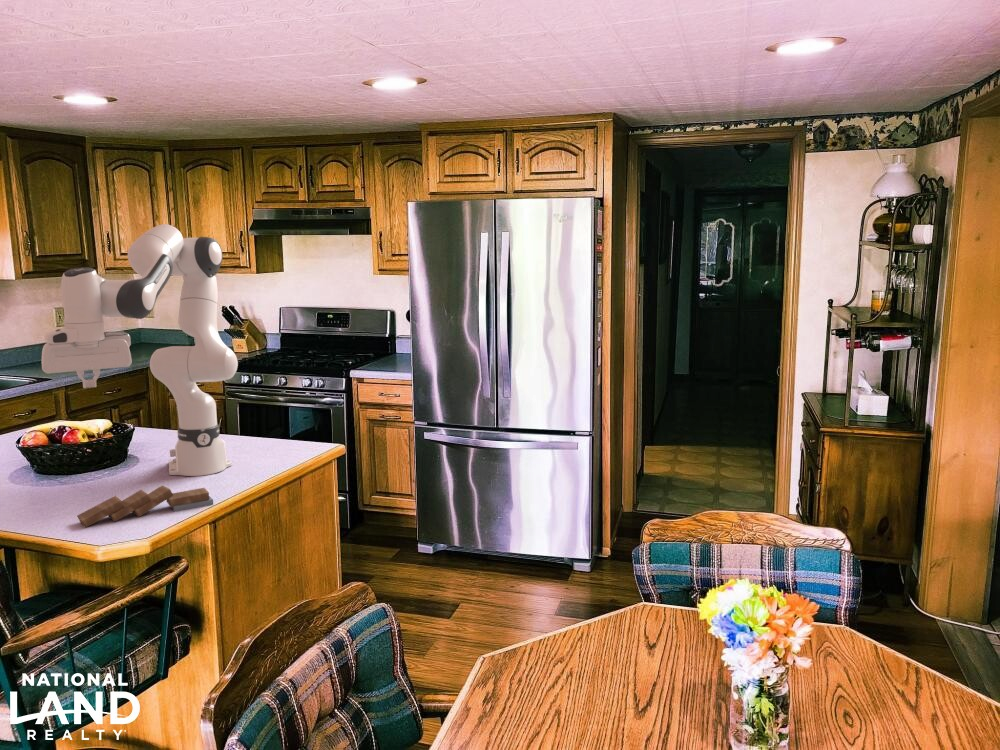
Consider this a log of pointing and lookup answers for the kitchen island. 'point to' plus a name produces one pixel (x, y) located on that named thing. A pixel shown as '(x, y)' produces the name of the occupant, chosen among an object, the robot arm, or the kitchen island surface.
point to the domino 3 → (154, 500)
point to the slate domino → (193, 505)
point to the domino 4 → (188, 497)
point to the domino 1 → (100, 511)
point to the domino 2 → (130, 504)
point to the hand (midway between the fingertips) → (89, 387)
